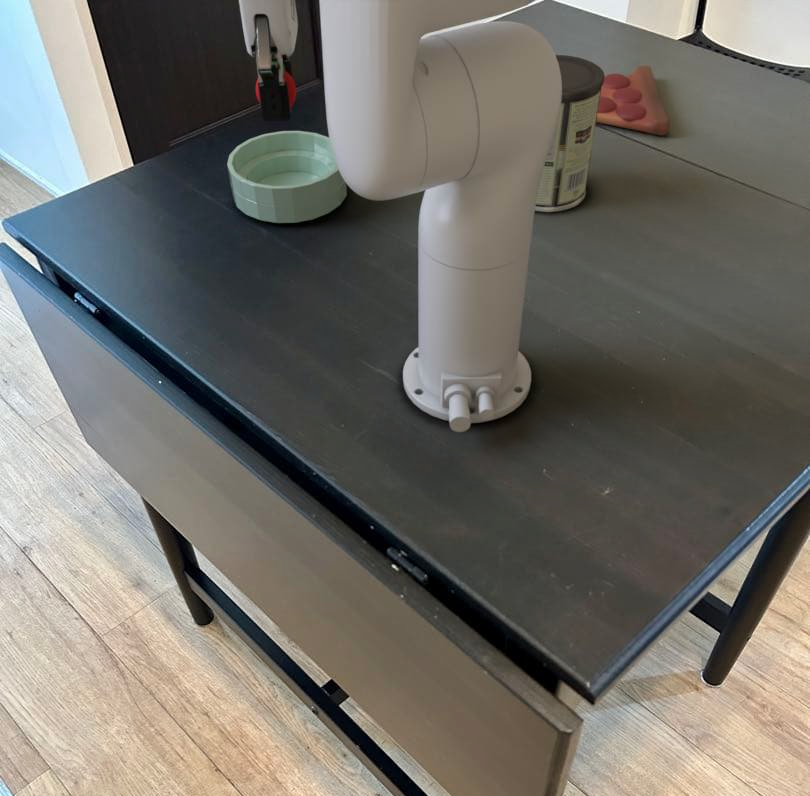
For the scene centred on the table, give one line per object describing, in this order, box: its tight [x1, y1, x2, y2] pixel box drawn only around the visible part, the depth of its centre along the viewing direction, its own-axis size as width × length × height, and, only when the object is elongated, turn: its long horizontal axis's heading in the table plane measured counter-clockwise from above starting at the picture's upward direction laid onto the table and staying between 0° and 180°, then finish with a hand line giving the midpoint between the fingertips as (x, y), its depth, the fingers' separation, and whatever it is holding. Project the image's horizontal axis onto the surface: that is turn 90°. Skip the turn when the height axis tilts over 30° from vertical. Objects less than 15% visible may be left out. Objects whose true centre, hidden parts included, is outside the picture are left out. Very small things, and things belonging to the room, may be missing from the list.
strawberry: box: [255, 62, 297, 113], centre depth 95 cm, size 5×5×5 cm
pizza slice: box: [596, 65, 670, 137], centre depth 119 cm, size 18×2×20 cm
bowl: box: [226, 130, 348, 224], centre depth 103 cm, size 14×14×5 cm
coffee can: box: [535, 54, 605, 213], centre depth 99 cm, size 10×10×14 cm
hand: (279, 107), depth 97 cm, fingers closed on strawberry, 4 cm apart
